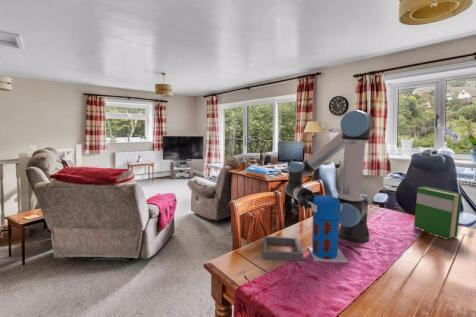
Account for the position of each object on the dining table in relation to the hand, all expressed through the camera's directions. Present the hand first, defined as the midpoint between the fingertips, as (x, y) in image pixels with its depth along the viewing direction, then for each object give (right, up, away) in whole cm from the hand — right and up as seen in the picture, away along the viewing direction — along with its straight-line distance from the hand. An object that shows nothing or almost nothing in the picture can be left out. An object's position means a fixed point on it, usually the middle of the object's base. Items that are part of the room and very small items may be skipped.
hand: (329, 208), depth 111 cm
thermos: (0, -21, +5) cm, 22 cm away
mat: (+1, -22, +5) cm, 22 cm away
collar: (-19, -21, +8) cm, 30 cm away
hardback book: (+70, -20, +33) cm, 80 cm away
